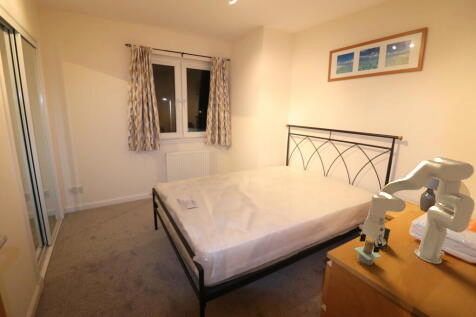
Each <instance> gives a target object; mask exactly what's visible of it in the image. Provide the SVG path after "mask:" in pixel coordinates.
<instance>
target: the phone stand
mask: <svg viewBox="0 0 476 317" xmlns="http://www.w3.org/2000/svg"><path fill="white" fill-rule="evenodd" d="M390 232H391V229H390V228H387V227H385V231H384V237H383V238H384V239H385V241H386V242H387V243H386V244H385V245H384V246H381V247H380V249H381V250H385V249H386V248H387V246H388V245H389V244H388V243H389V238H390ZM377 242H378V241H377ZM381 242H382V241H381ZM373 243H374V246H375V245H376V244H375V241H373ZM378 244H379V243H378ZM374 246H373V247H374Z"/></svg>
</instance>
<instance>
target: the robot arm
mask: <svg viewBox="0 0 476 317" xmlns="http://www.w3.org/2000/svg"><path fill="white" fill-rule="evenodd" d="M474 172H475V168H474V166H473V165H472V164H470V163H469V162H466V161H460V160H455V159H452V158H447V157H435V158H434V159H433V160H431V159H425V160H423V161H421V162H420V163H419V164H417V166H416V167H415V168H413V170H412V171H410V172H409V174H407V175H406V176H405V177H404V178H401V179H397V180H394V181H392V182H389V183H387V184H385V185H384V186H383V187H382V188H381V189H380V190H379V191H378V192H377V194H373V195H372V197H371V201H370V205H369V209H368V213H367V216H366V217H365V220H364V222H363V224H359V225H358V227H359V232H360V233H359V234H360V236H359V242H361V243H363V242H364V243H365V242H366V239H367V237H368V238H369V239H370V240H372V242H374V241H375V244H376V245H375V246H373V252H374V253H377V254H379V252H380V249H381V248H380V247H381V246H384V245H385V244H386V243H387V242H386V241H385V239H384V238H383V237H384V231H385V228H386V224H385V223H386V220H385V218H386V215H387V212H393V213H401V212H403V211H404V210H405V209H406V206H407V204H406V202H405V200H403V199H402V198H400V197H399V196H398V197H397V196H395V195H394V194H395V193H398V192H402V191H419V190H421V189H422V188H423V187H424V186H426V184H428V183H429V182H430V181H431V180H433V179H436V180H438V181H439V182H438V186H437V190H436V193H435V199H434V200H435V202H436V203H437V204H439V205H432V206H430V207H429V208H428V209H427V212H426V223H425V227H424V230H423V232H422V236H421V239H420V243H419V246H418V248H415V249H414V251H413V252H414V255H415V256H416V257H417V258H420V259H421V260H423V261H425V262H427V263H430V264H435V265H440V264H442V262H443V260H442V258H441V257H440V256H444V255H445V251H443V247H444V243H445V241H446V237H447V235H448V230H449V231H452V232H454V233H463V232H465V231H466V230H467V229H468V227H469V224H470V222H471V219H472V216H473V212H474V210H475V201H474V199H473V198H472V197H471V196H469V195H468V194H463V193H461V192H460V188H461V184H462V181H464V180H467V179H469V178H471V177H472V176H473V174H474ZM447 229H448V230H447ZM377 241H378V242H377ZM381 241H382V242H381ZM378 243H379V244H378Z"/></svg>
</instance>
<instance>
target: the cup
mask: <svg viewBox="0 0 476 317" xmlns="http://www.w3.org/2000/svg"><path fill="white" fill-rule="evenodd" d="M357 259H359V260H360V261H359V260H358V261H359V262H360V263H362V264H364V265H368V266H370V265H373V264H374V261H375V259H372V260H368V259H366V258H365V257H363V256H362V255H361V254H359V253H358V254H357Z"/></svg>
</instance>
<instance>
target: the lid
mask: <svg viewBox="0 0 476 317" xmlns="http://www.w3.org/2000/svg"><path fill="white" fill-rule="evenodd" d="M353 250H354V251H356V253H358V255H359V254H361V255H362V256H363V257H365V258H366V259H368V260H372V259H374V260H375V259H380V258H382V255H381V254H379V253H374V252H373V250H374V241H371V240H366V239H365V242H364V245H363V246H358V247H355V248H353Z"/></svg>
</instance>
